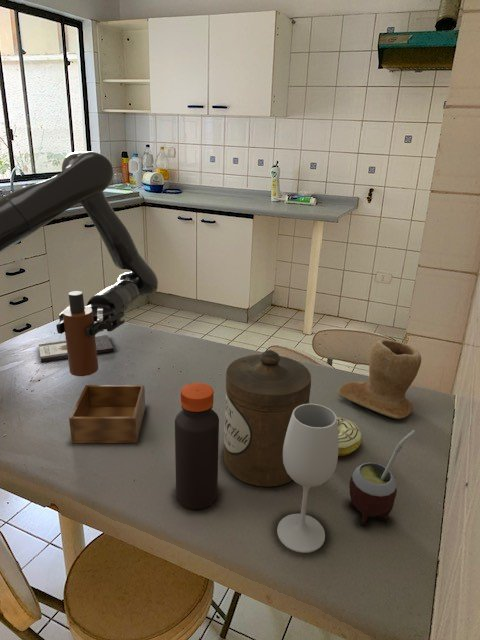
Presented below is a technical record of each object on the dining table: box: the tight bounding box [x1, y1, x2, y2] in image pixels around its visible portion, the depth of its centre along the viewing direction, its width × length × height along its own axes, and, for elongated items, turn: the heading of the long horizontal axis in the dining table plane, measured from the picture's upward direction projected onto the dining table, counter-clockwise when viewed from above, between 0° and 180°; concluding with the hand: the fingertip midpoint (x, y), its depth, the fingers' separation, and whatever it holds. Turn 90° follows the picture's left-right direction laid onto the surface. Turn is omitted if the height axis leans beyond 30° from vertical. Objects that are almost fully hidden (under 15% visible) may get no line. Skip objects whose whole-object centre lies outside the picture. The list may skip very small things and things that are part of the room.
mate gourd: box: [348, 429, 417, 527], centre depth 72 cm, size 8×8×15 cm
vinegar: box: [174, 382, 220, 510], centre depth 73 cm, size 7×7×20 cm
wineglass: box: [276, 403, 339, 554], centre depth 66 cm, size 8×8×21 cm
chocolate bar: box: [38, 334, 115, 363], centre depth 124 cm, size 9×1×18 cm
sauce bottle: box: [62, 290, 99, 377], centre depth 99 cm, size 6×6×18 cm
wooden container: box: [223, 349, 312, 488], centre depth 81 cm, size 15×15×22 cm
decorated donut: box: [336, 415, 362, 457], centre depth 90 cm, size 10×11×4 cm
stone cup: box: [337, 339, 422, 420], centre depth 102 cm, size 15×12×15 cm
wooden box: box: [68, 384, 146, 444], centre depth 93 cm, size 12×12×6 cm
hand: (73, 331), depth 96 cm, fingers closed on sauce bottle, 6 cm apart
